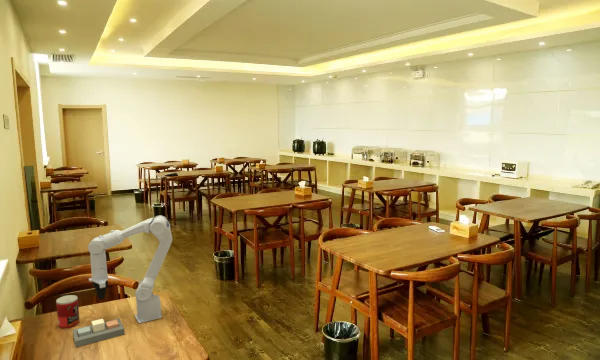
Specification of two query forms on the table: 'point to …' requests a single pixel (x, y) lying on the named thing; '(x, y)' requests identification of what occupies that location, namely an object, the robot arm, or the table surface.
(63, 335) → the table surface
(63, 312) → the canned food
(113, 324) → the key terracotta
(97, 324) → the key ivory
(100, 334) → the keypad base
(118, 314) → the table surface
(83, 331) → the key slate
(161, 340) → the table surface
